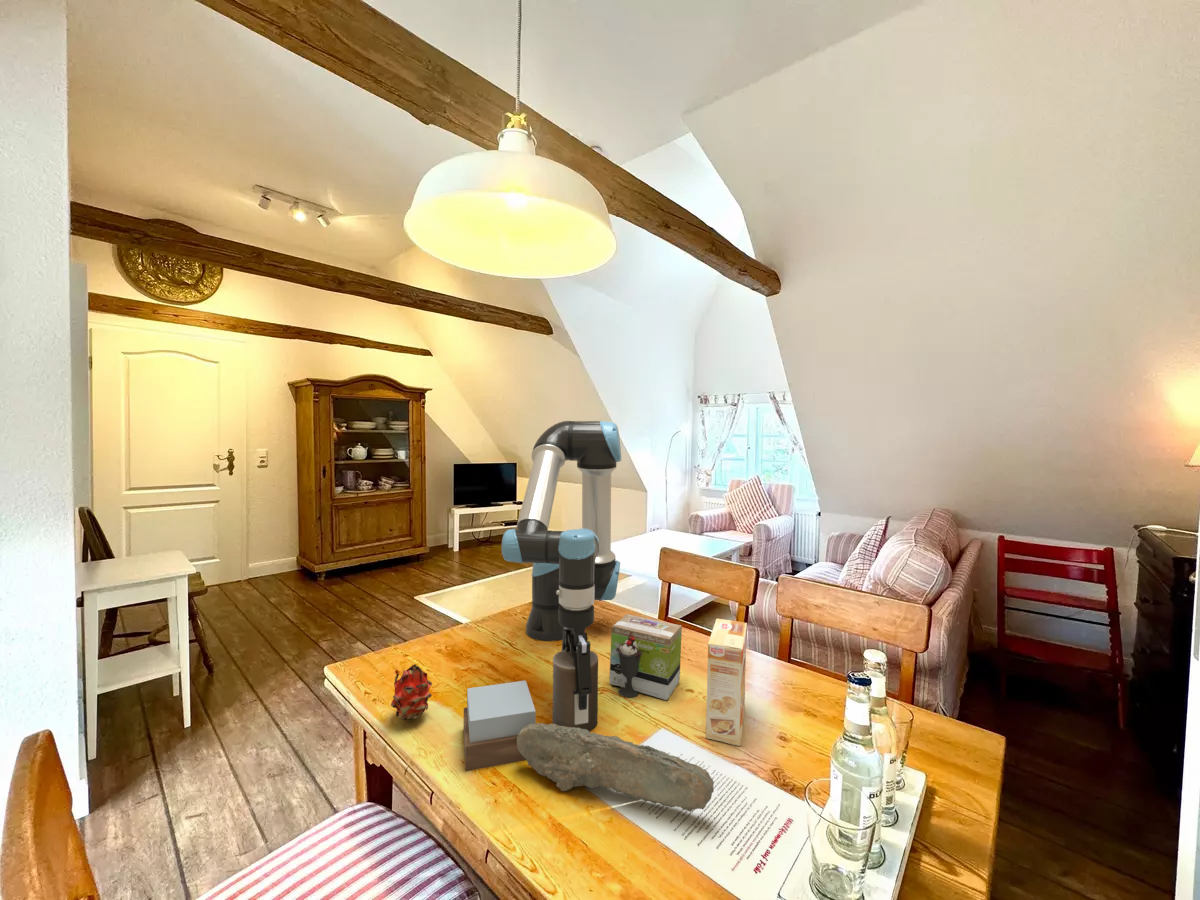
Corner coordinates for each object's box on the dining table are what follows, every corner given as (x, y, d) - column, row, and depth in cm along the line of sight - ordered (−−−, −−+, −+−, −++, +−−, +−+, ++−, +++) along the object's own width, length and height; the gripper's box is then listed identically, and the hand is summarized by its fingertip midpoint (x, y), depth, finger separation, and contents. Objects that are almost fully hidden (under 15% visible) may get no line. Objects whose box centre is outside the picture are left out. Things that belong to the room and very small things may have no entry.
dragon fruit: (379, 727, 100) (379, 670, 100) (405, 705, 108) (405, 652, 108) (415, 734, 98) (415, 676, 97) (439, 711, 106) (439, 657, 106)
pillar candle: (606, 725, 102) (607, 654, 101) (566, 741, 96) (567, 666, 96) (582, 703, 110) (582, 638, 110) (543, 717, 105) (544, 648, 104)
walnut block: (463, 731, 100) (463, 707, 100) (526, 721, 104) (526, 698, 104) (465, 774, 87) (465, 746, 87) (537, 760, 91) (537, 734, 91)
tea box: (608, 685, 117) (610, 624, 117) (624, 669, 126) (626, 612, 126) (668, 702, 111) (670, 637, 110) (680, 683, 120) (682, 623, 120)
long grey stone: (714, 809, 80) (715, 749, 79) (711, 834, 75) (713, 770, 74) (522, 761, 90) (522, 709, 90) (508, 780, 85) (508, 725, 85)
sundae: (624, 702, 110) (626, 636, 110) (609, 689, 116) (611, 626, 116) (648, 695, 114) (650, 631, 113) (632, 683, 119) (634, 622, 119)
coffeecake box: (741, 747, 95) (743, 649, 95) (704, 738, 98) (706, 643, 97) (746, 707, 109) (748, 621, 109) (713, 701, 112) (715, 617, 111)
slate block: (467, 707, 100) (467, 688, 100) (525, 698, 103) (525, 680, 103) (469, 743, 88) (469, 721, 88) (535, 731, 92) (535, 710, 92)
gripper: (548, 589, 112) (547, 685, 113) (571, 626, 91) (569, 743, 91) (580, 587, 114) (579, 680, 115) (609, 622, 93) (607, 737, 94)
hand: (575, 708), depth 103 cm, fingers closed on pillar candle, 10 cm apart
